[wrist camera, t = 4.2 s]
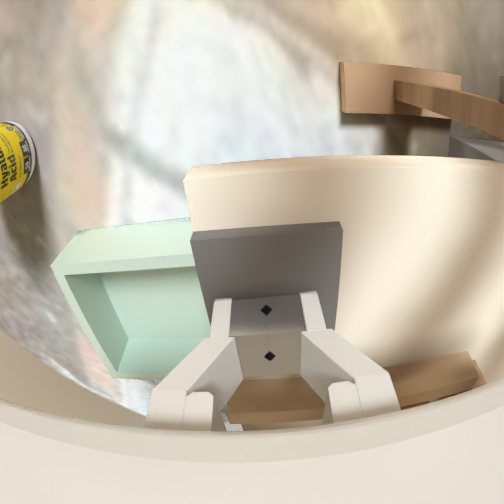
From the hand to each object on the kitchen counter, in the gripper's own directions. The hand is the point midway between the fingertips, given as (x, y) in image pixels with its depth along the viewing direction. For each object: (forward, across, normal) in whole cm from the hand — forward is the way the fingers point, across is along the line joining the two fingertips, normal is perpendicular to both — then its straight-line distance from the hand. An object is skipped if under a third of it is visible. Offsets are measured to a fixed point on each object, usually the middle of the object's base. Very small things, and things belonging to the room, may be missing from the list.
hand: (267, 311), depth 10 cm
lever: (+8, -7, +4) cm, 11 cm away
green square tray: (+12, +8, +8) cm, 16 cm away
